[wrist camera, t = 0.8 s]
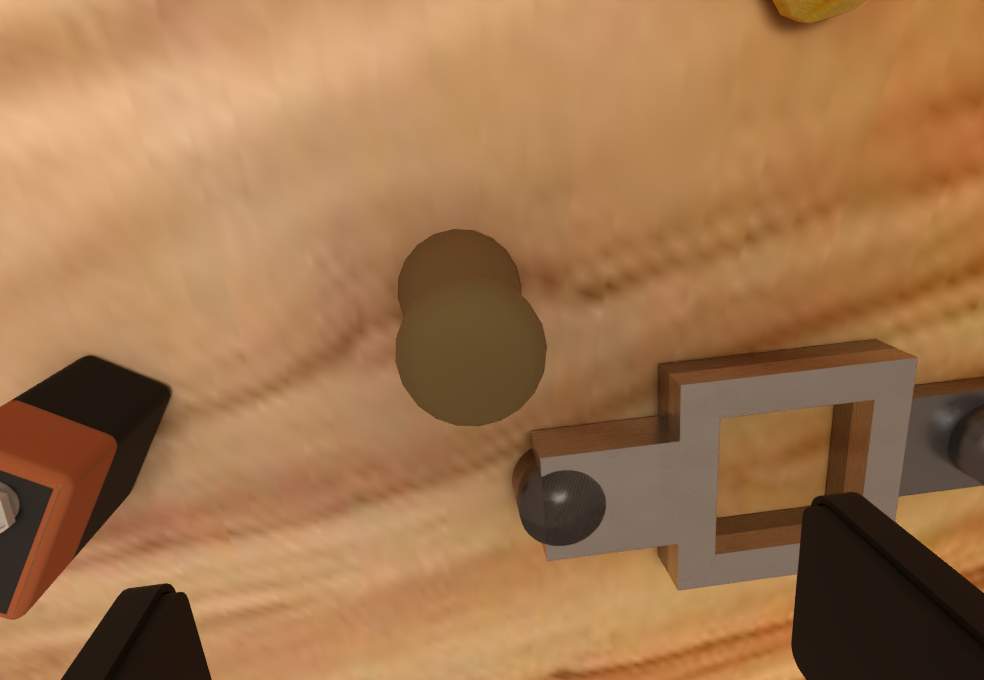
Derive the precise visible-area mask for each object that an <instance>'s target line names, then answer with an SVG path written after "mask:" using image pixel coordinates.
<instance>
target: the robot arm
mask: <svg viewBox="0 0 984 680" xmlns="http://www.w3.org/2000/svg"><path fill="white" fill-rule="evenodd" d="M791 643H792V652H793V656H794V659H795V662H796V664H797V666H798V668H799V670H800V671H801V673H802V674H803V676H804V677H805V678H806V680H984V593H983V592H982V591H980V590H979V589H978V588H977V587H975V586H974V585H973V584H972V583H970V582H969V581H968V580H967V579H966V578H964V577H963V576H962V575H961V574H959V573H958V572H957V571H956V570H954V569H953V568H952V567H951V566H949V565H948V564H947V563H946V562H944V561H943V560H942V559H941V558H939V557H938V556H937V555H936V554H934V553H933V552H932V551H931V550H929V549H928V548H927V547H926V546H924V545H923V544H922V543H921V542H919V541H918V540H917V539H916V538H914V537H913V536H912V535H911V534H909V533H908V532H907V531H906V530H904V529H903V528H902V527H901V526H899V525H898V524H897V523H896V522H894V521H893V520H892V519H891V518H889V517H888V516H887V515H886V514H884V513H883V512H882V511H881V510H880V509H878V508H877V507H876V506H875V505H873V504H872V503H871V502H870V501H868V500H867V499H866V498H865V497H863V496H862V495H860V494H858V493H857V492H845V493H838V494H830V495H823V496H818V497H816V498H814V500H813V501H812V503H811V507H808V508H806V509H805V510H804V512H803V516H802V526H801V538H800V550H799V561H798V573H797V584H796V596H795V607H794V619H793V630H792V642H791ZM61 680H212V679H211V676H210V672H209V669H208V666H207V662H206V659H205V655H204V652H203V648H202V645H201V641H200V638H199V634H198V631H197V628H196V624H195V621H194V617H193V614H192V610H191V607H190V603H189V600H188V598H187V595H186V594H185V593H183V592H177V593H176V591H175V589H174V588H173V586H172V585H171V584H167V583H166V584H158V585H151V586H143V587H136V588H128V589H126V590H124V591H123V592H122V593H121V594H120V595H119V596H118V597H117V599H116V600H115V602H114V603H113V605H112V606H111V607H110V609H109V610H108V612H107V613H106V615H105V616H104V618H103V619H102V621H101V622H100V623H99V625H98V626H97V628H96V629H95V631H94V632H93V634H92V635H91V637H90V638H89V639H88V641H87V642H86V644H85V645H84V647H83V648H82V650H81V651H80V653H79V654H78V655H77V657H76V658H75V660H74V661H73V663H72V664H71V666H70V667H69V669H68V670H67V671H66V673H65V674H64V676H63V677H62V679H61Z"/></svg>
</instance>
